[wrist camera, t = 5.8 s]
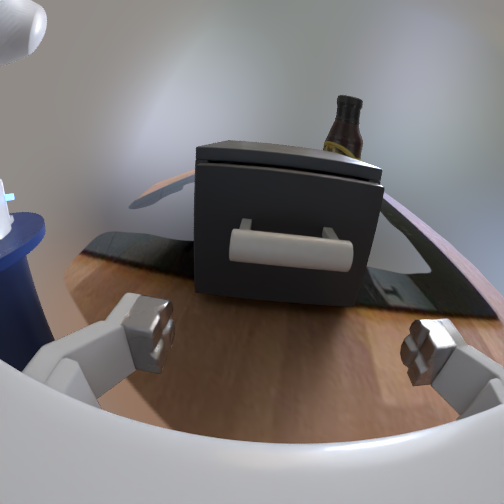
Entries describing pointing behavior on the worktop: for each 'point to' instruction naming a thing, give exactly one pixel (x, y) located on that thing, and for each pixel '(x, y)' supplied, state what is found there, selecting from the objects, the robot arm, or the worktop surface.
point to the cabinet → (286, 159)
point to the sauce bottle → (346, 129)
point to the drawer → (282, 233)
